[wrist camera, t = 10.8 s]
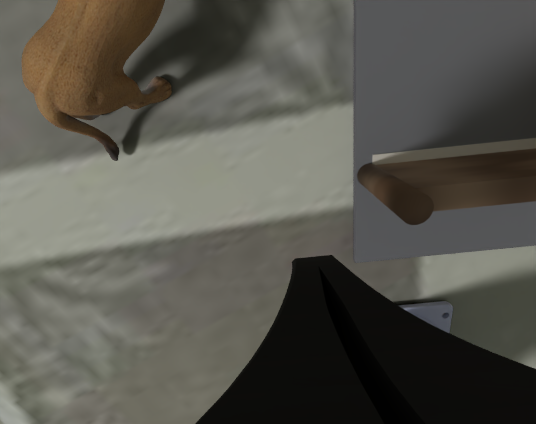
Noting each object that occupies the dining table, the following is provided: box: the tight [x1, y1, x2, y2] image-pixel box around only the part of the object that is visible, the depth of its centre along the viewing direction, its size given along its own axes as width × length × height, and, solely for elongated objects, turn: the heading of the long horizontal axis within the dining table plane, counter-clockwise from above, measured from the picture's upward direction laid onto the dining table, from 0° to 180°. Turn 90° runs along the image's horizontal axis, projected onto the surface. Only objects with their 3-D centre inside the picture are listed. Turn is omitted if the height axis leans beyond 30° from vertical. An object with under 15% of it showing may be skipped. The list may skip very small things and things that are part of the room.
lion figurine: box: [22, 0, 172, 161], centre depth 11 cm, size 15×5×9 cm, turn 159°
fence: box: [357, 148, 536, 225], centre depth 15 cm, size 14×2×6 cm, turn 96°
